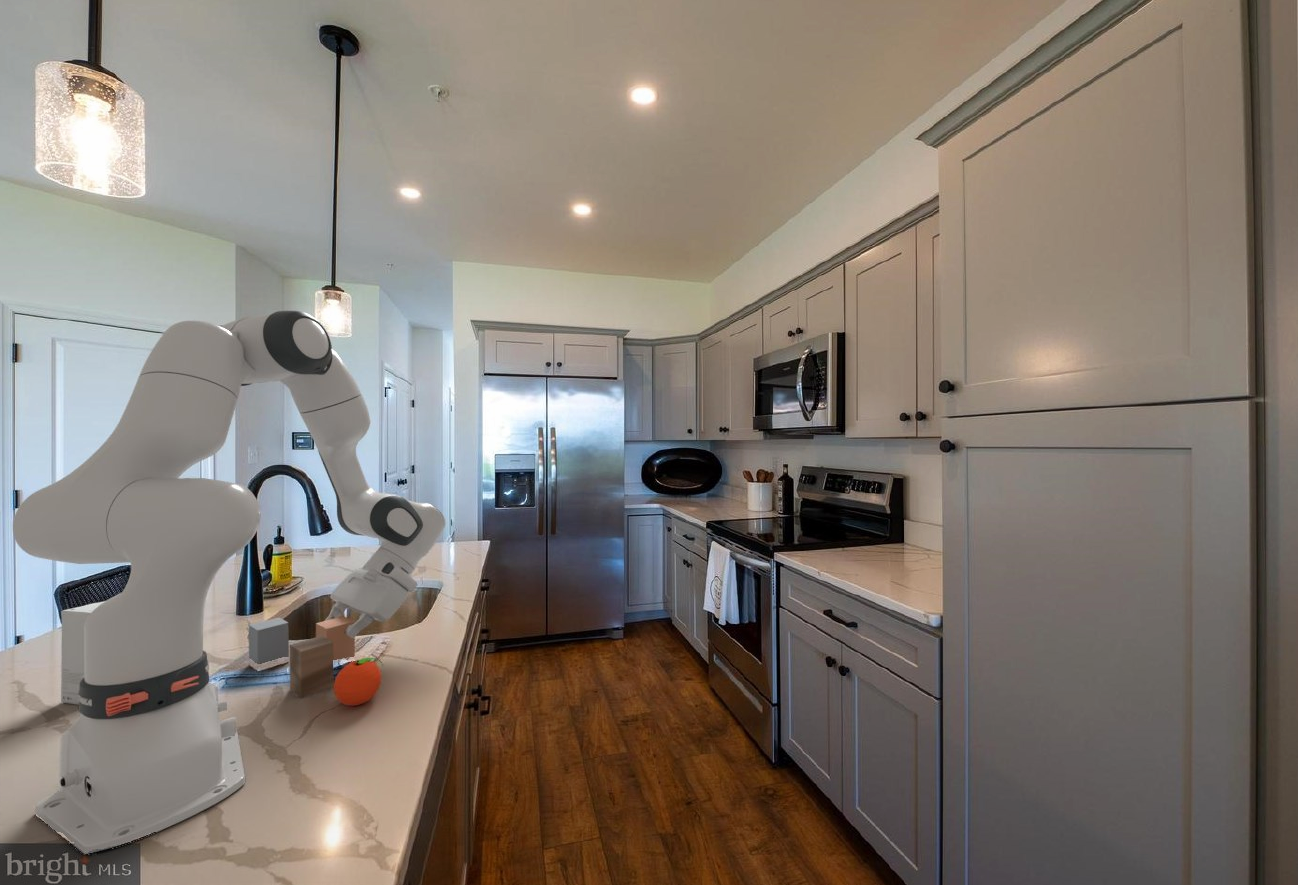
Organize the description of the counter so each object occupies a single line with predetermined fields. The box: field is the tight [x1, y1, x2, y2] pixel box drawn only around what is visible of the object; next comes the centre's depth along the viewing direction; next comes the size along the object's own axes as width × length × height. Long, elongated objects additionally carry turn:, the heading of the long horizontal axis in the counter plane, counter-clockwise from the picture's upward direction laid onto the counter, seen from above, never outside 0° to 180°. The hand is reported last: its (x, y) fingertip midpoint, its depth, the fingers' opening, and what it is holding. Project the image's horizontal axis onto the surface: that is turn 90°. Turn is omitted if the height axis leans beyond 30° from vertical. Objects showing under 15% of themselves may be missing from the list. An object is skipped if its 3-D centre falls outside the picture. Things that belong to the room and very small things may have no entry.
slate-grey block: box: [248, 617, 290, 664], centre depth 98 cm, size 5×5×8 cm
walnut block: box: [289, 636, 335, 699], centre depth 88 cm, size 5×5×8 cm
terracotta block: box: [315, 615, 356, 660], centre depth 99 cm, size 5×5×8 cm
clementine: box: [333, 657, 384, 707], centre depth 84 cm, size 8×7×7 cm
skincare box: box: [60, 600, 106, 706], centre depth 87 cm, size 8×7×16 cm
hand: (337, 630), depth 99 cm, fingers open, 8 cm apart
